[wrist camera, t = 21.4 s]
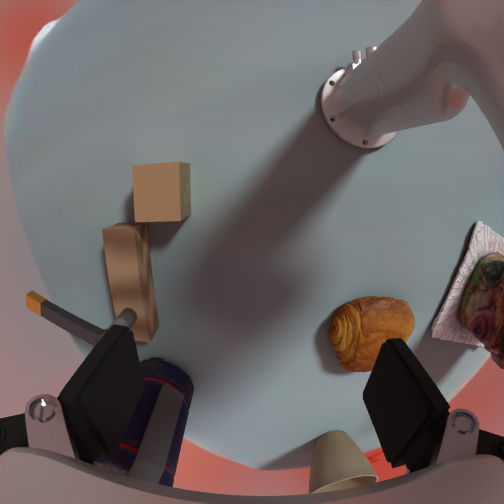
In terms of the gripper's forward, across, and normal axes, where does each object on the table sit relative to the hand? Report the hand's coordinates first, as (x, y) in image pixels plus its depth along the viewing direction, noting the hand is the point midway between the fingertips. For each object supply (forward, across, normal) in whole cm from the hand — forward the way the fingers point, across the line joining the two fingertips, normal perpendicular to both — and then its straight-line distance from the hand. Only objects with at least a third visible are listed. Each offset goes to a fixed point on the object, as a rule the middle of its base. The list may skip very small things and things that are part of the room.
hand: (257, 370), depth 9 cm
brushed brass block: (+30, +12, -4) cm, 32 cm away
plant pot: (+29, -21, +50) cm, 61 cm away
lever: (+17, +23, +12) cm, 31 cm away
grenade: (+29, +15, +30) cm, 44 cm away
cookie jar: (+30, -49, +10) cm, 59 cm away
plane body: (+29, +18, +10) cm, 35 cm away
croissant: (+30, -20, +17) cm, 40 cm away
